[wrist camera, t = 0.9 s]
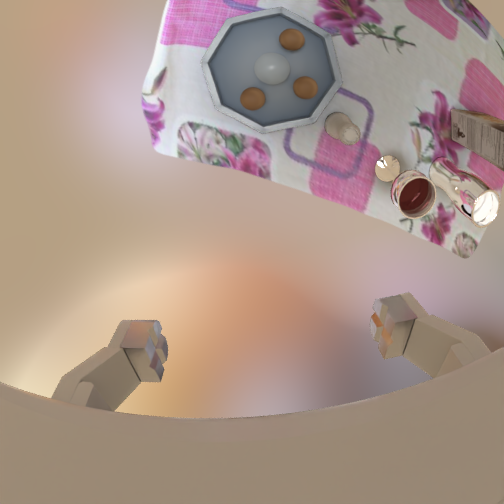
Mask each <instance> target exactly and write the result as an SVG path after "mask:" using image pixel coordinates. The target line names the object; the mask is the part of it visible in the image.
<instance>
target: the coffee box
mask: <svg viewBox="0 0 504 504" xmlns="http://www.w3.org/2000/svg"><path fill="white" fill-rule="evenodd" d="M451 128H452V140H453V141H455V142H457V143H459V144H461V145H462V146H464V147H466V148H468V149H469V150H471V151H473V152H475V153H476V154H478V155H479V156H481V157H483V158H484V159H486V160H487V161H489V162H490V163H492V164H494V165H495V166H497V167H498V168H499V169H501V170H502V171H504V121H503V120H500V119H498V118H496V117H493V116H490V115H488V114H485V113H481V112H474V111H466V110H457V109H451Z"/></svg>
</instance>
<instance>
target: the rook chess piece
mask: <svg viewBox="0 0 504 504" xmlns="http://www.w3.org/2000/svg"><path fill="white" fill-rule="evenodd" d="M325 129H326V132H327V133H328V134H329V135H330V136H331V137H333V138H335V139H340V141H341V142H342V143H344V144H345V145H353V144H355V143H357V142H358V140H359V139H360V130H359V128H358V127H357V126H356V125H355V124H353V123H352V121H351V120H350V119H349V117H348V116H347V115H345V114H343V113H339V112H336V113H332V114H331V115H329V116H328V117H327V119H326V121H325Z"/></svg>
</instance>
